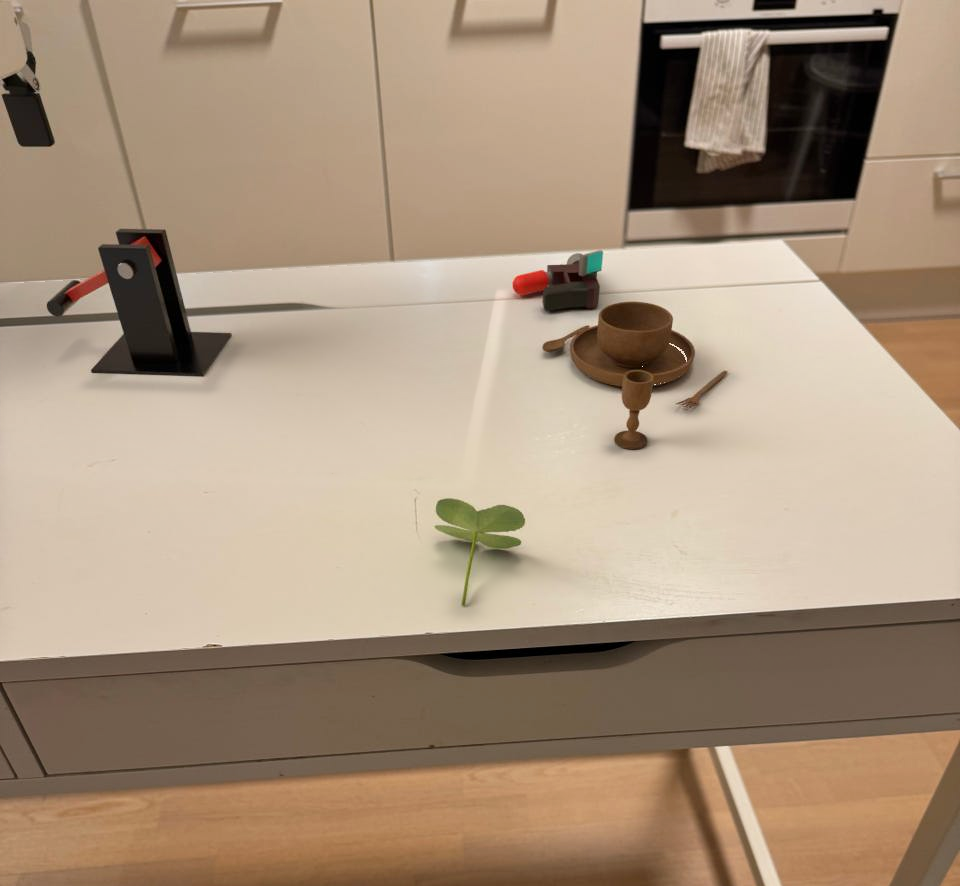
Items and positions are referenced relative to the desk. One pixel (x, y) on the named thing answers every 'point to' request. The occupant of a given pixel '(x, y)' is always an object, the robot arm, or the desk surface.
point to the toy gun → (565, 282)
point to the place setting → (632, 357)
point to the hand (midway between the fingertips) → (10, 161)
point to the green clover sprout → (479, 526)
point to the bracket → (152, 312)
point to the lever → (86, 286)
